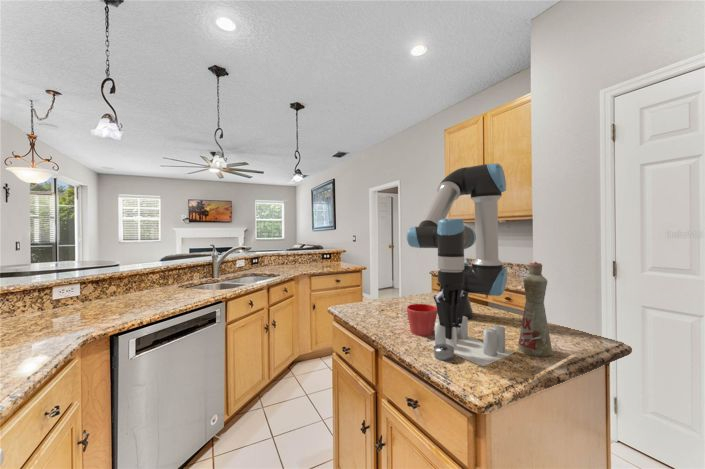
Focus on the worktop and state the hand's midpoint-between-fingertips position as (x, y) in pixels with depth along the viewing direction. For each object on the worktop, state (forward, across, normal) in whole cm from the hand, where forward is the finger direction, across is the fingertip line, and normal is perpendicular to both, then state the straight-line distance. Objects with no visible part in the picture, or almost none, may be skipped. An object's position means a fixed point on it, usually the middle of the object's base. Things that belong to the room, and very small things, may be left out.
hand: (451, 348), depth 85 cm
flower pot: (+2, -7, -18) cm, 19 cm away
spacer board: (+2, -9, 0) cm, 9 cm away
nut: (+2, +3, 0) cm, 4 cm away
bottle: (+2, -22, +13) cm, 26 cm away
